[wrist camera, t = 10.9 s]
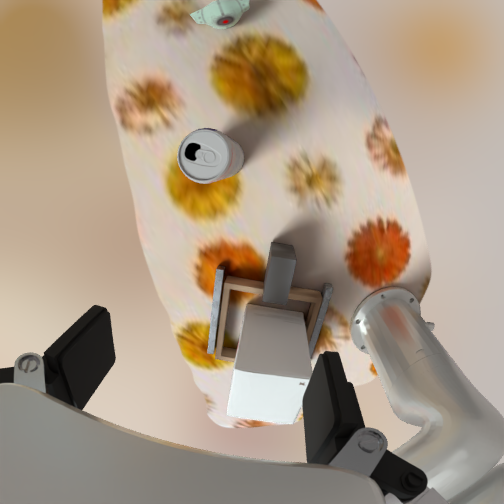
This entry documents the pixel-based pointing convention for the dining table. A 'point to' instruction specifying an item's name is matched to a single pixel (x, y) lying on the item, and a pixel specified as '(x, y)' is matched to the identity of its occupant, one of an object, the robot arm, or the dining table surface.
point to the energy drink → (209, 156)
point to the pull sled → (269, 293)
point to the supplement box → (270, 366)
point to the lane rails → (217, 301)
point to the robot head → (221, 13)
